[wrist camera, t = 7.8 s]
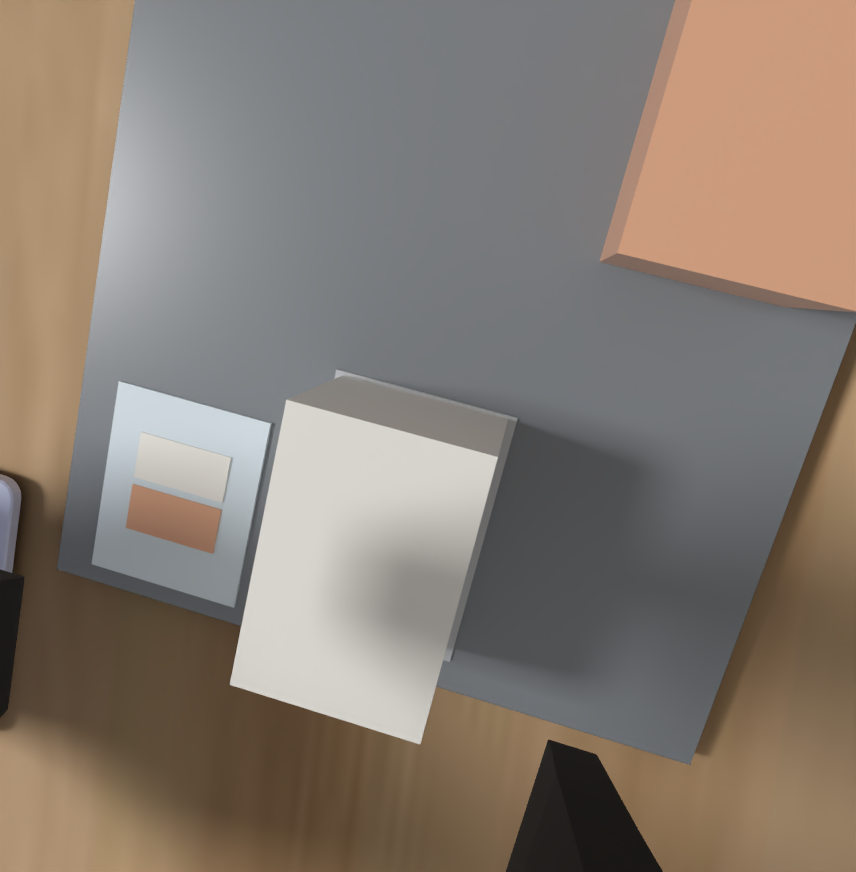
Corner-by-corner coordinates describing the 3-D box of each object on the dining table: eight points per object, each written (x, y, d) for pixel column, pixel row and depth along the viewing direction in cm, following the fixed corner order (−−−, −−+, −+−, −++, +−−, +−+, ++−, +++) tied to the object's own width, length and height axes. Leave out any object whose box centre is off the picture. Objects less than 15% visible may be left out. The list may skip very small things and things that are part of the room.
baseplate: (70, 561, 20) (53, 571, 20) (190, -287, 16) (174, -315, 15) (685, 749, 19) (691, 768, 18) (1015, -137, 14) (1040, -160, 13)
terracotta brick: (599, 261, 16) (617, 252, 12) (686, -38, 15) (737, -155, 11) (783, 306, 16) (862, 312, 12) (890, 3, 14) (1018, -103, 10)
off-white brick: (294, 602, 19) (230, 684, 15) (343, 374, 17) (286, 399, 14) (446, 648, 18) (420, 744, 14) (508, 418, 17) (498, 456, 13)
